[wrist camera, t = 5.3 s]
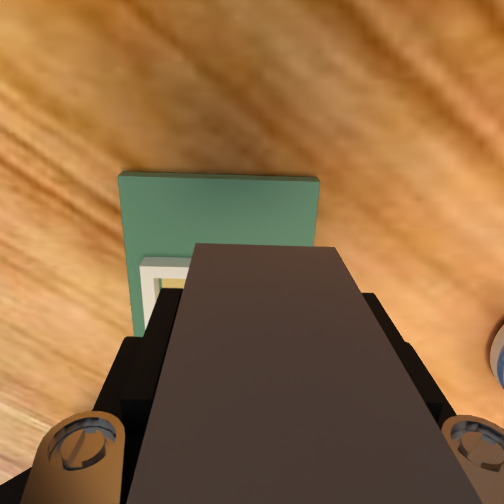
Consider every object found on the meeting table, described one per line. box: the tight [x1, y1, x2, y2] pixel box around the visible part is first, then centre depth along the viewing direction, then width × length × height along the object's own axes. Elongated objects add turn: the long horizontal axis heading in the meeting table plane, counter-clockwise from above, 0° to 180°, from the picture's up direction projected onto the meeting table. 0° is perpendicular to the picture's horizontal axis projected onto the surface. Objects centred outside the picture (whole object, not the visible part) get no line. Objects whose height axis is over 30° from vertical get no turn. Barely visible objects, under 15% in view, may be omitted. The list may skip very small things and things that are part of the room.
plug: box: [126, 243, 483, 504], centre depth 9 cm, size 5×4×8 cm
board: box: [118, 171, 320, 337], centre depth 26 cm, size 14×12×3 cm
